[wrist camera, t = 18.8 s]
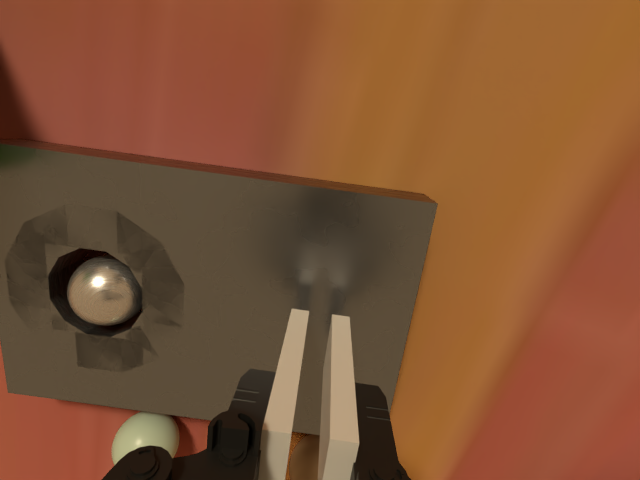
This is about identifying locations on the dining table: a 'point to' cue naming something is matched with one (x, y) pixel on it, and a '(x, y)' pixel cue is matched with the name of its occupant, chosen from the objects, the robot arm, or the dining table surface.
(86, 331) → the plate
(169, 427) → the pale green ball
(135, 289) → the steel ball
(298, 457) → the cork ball
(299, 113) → the dining table surface
